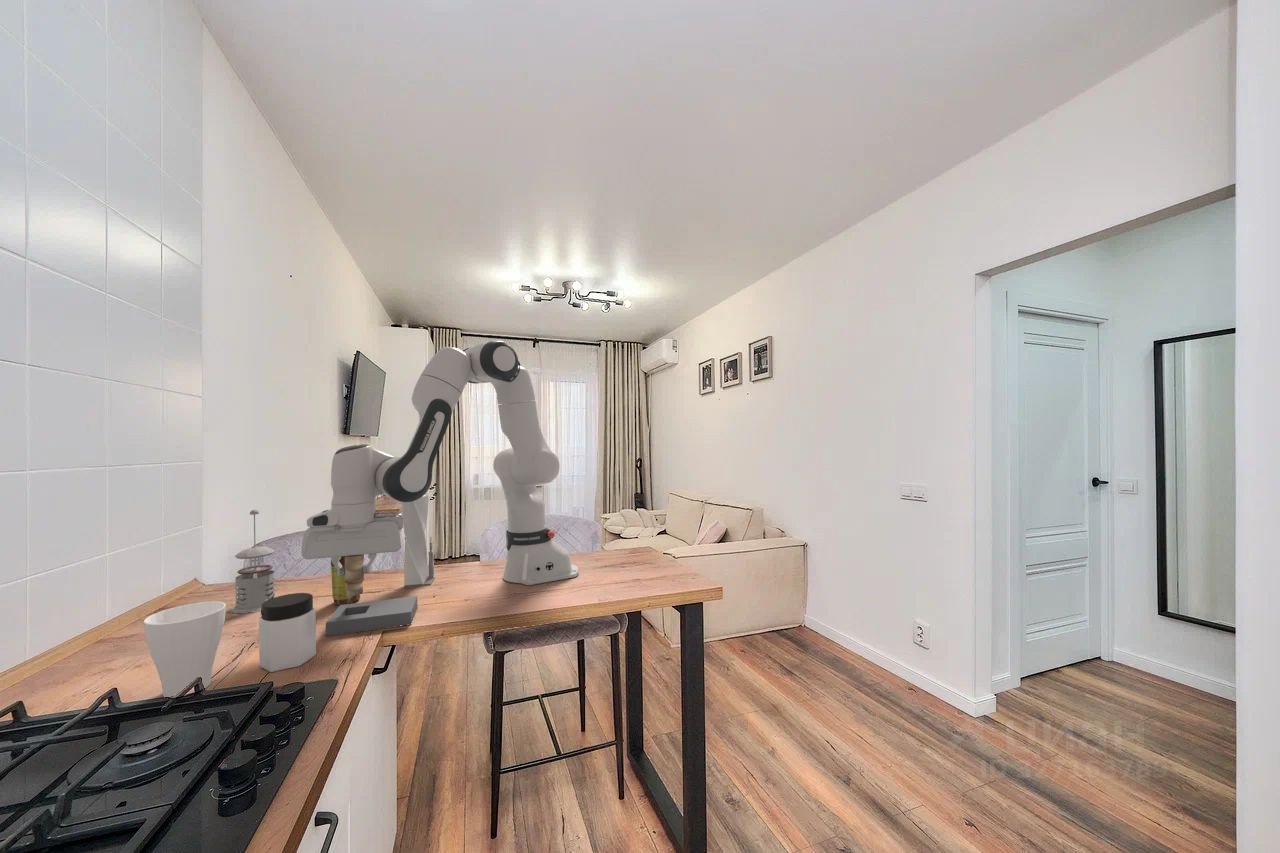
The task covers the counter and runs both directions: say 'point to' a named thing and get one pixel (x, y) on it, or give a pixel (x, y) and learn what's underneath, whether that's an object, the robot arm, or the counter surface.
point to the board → (371, 615)
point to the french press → (254, 579)
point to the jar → (287, 631)
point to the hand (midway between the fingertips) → (354, 573)
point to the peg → (354, 574)
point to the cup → (185, 643)
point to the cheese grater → (417, 544)
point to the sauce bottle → (341, 587)
